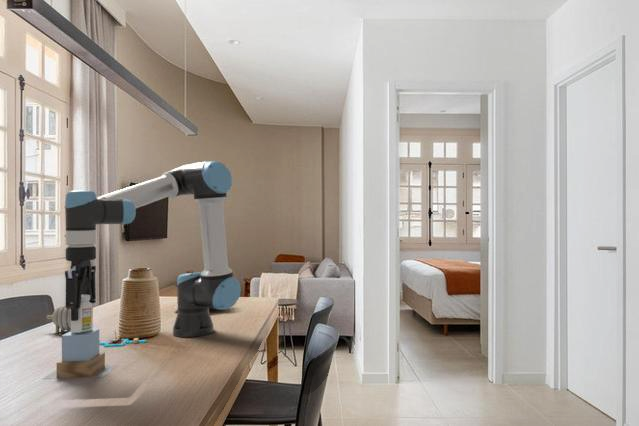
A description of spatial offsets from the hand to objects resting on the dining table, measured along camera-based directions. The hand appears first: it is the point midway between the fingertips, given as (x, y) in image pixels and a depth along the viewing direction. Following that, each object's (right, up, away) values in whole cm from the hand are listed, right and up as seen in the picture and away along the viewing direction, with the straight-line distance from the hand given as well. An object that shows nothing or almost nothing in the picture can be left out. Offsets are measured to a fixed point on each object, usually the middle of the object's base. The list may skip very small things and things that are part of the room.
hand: (81, 329), depth 128 cm
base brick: (0, -12, 0) cm, 12 cm away
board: (0, -13, 0) cm, 13 cm away
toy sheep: (-33, -15, +54) cm, 65 cm away
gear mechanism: (-6, -15, +36) cm, 39 cm away
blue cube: (0, -8, 0) cm, 8 cm away
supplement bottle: (0, -1, 0) cm, 1 cm away
